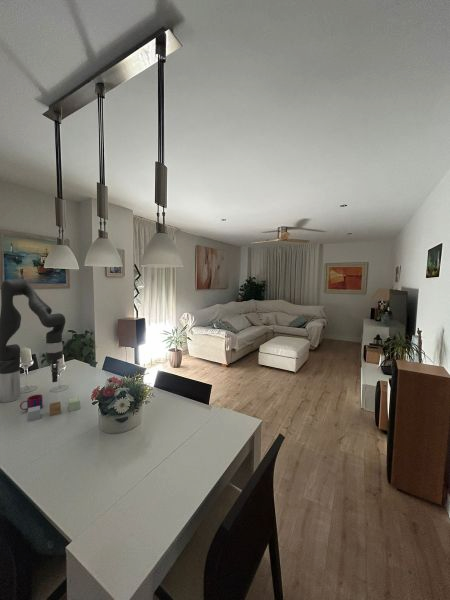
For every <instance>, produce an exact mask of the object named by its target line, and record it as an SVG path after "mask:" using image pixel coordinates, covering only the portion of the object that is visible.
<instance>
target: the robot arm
mask: <svg viewBox="0 0 450 600" xmlns="http://www.w3.org/2000/svg"><path fill="white" fill-rule="evenodd" d="M0 286H1V287H0V301H1V302H0V303H1V304H0V305H1V306H0V363H5V362H7V363H6V364H4V365H2V366H0V402H1V403H10V402H13V401H17V400H18V399H20V398H21V370H20V368H21V347H20V345H19V344H17V343H16V344H15V343H14V344H8V342H9V340H10V339H11V338H13V336H14V335H15V334H16V333H17V332H18V331H19V329H20V327H21V322H22V315H21V313H20V312H19V311H18V309H17V308H16V307H15V305H14V297H16V296H25V297H27V298H28V299H27V300H28V304H27V305H28V307H29V309H30V310H31V311H32V312H33V313H34V314H35V315H36V316H37V318H38V319H39V321H40V323H41V325H42V326H43V327H45V328H49V329H50V328H52V329H51V330H50V331H48V332H46V334H45V360H46V361H49V367H50V372H51V378H52V380H51V381H52V383H57V382H58V375H59V369H60V368H59V366H60V362H59V360H61V359H63V357H64V356H63V355H64V353H63V348H64V347H63V332H64V329H65V325H66V317H65V315H64V314H63V313H60V312H59V313H52V312H53V311H52V308H51V307H50V306H49V305H48V304H47V303H46V302H45V301H43V299H41V298H40V296H39V295H38V294H37V292H36V291H35V289H33V287H32V286H31V285H30V283H29V282H28V281H27V280H25V279H24V278H23V279H22V278H14V279H13V278H11V279H4V280H3V281H2V282H1V285H0Z"/></svg>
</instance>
